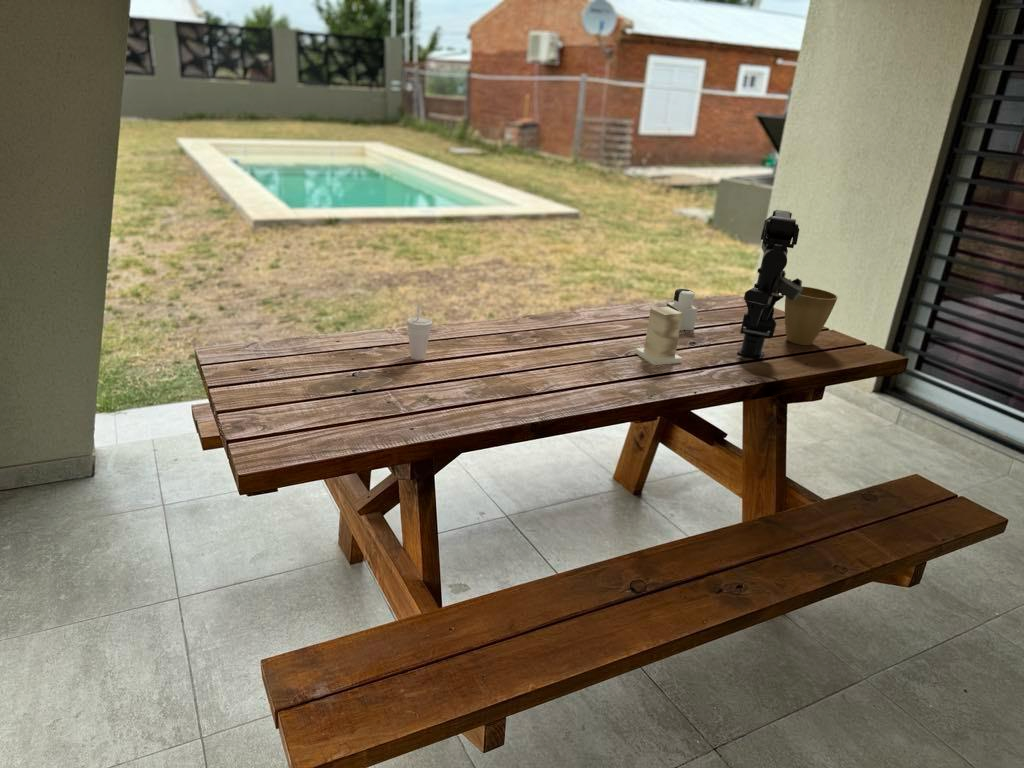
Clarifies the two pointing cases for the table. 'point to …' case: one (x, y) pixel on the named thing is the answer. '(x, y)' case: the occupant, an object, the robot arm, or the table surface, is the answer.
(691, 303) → the medicine bottle
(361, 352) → the table surface
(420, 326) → the smoothie
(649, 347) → the beige rectangular block
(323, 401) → the table surface
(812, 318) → the plant pot
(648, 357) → the top slab
